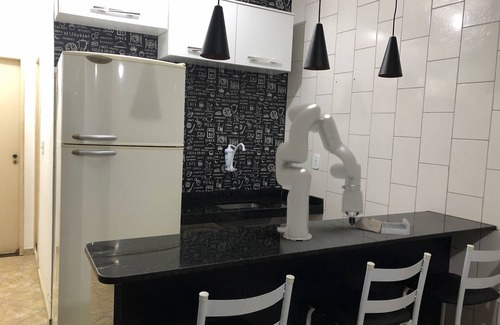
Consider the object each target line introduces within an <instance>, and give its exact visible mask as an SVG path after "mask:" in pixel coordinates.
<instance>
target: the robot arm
mask: <svg viewBox="0 0 500 325" xmlns="http://www.w3.org/2000/svg"><path fill="white" fill-rule="evenodd" d="M321 112H322V109H321V106H320V105H319V104H317V103H303V104H302V103H301V104H294V105H292V106H290V108H289V109H288V111H287V118H288V119H289V121H290V122H291V124H290V126H289V132H288V141H286V142H281V143H280V144H279V145H278V147H276V152H275V177H276V181H277V183H278V184H279V185H280V186H282V187H287V188H289V190H288V194H287V199H286V203H287V204H286V206H287V207H286V208H287V209H286V226H284V227H278V226H277V228H276V230H277V232H278V233H283V235H282V236H283V238H284V239H285V238H286V240H289V239H290V241H296V240H303V241H308V240H309V241H310V240H311V239H312V237H313V235H312V234H311V233H309V208H310V207H309V205H310V204H309V199H310V189H311V183H312V174H311V172H310V170H308V169H307V168H305V167H303V166H295V165H294V164H296V165H297V164H305V163H306V162H307V161H308V158H309V132H311V133H318V135H319V137H320V140H321V143H322V145H323V148H324V149H325V150H326V151H328V152H329V153H331V154H332V155H334V156H336V157H337V158H339V160H341V162H342V163H340V162H339V163H334V164H332V165H331V166H330V168H329V174H330V175H331V177H333V178H335V179H338V180H344V185H341V188H342V189H343V191H342V196H341V211H340V212H341V214H345V215H346V216H347V217H348V224H349V225H350V226H352V227H353V226H354V227H355V223H356V218H357V216H359V215H363V214H364V195H363V191H362V190H361V186H362V185H361V184H362V183H361V179H362V177H361V176H362V175H361V174H362V173H361V172H362V166H361V164H360V163H358V161H357V159H356V157H355V155H354V153H353V152H352V150H350V149H349V148H348V147H347V146H346V144H344V143H343V142H342V139H341V136H340V134H339V131H338V127H337V125H336V122H335V120H334V117H333V116H332V115H331V114H330V113H321ZM352 213H353V215H352Z"/></svg>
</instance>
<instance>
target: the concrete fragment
mask: <svg viewBox="0 0 500 325" xmlns="http://www.w3.org/2000/svg"><path fill="white" fill-rule="evenodd" d="M354 228H355V229H362V230H365V231H371V232H374V233H378V234H379V233H381V228H382V221H380V220H377V219H375V218H372V217H364V216H360V217H359V219H357V220H355V224H354Z"/></svg>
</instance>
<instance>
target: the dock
mask: <svg viewBox="0 0 500 325" xmlns="http://www.w3.org/2000/svg"><path fill="white" fill-rule="evenodd" d="M381 222H382V221H381ZM380 233H381V234H384V235H385V234H387V235H401V236H402V235H403V236H410V235H411V224H410V222H409V221H408V219H407V218H405V217H404V218H402V222H396V223H395V222H387V221H383V222H382V228H381V231H380Z"/></svg>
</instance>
